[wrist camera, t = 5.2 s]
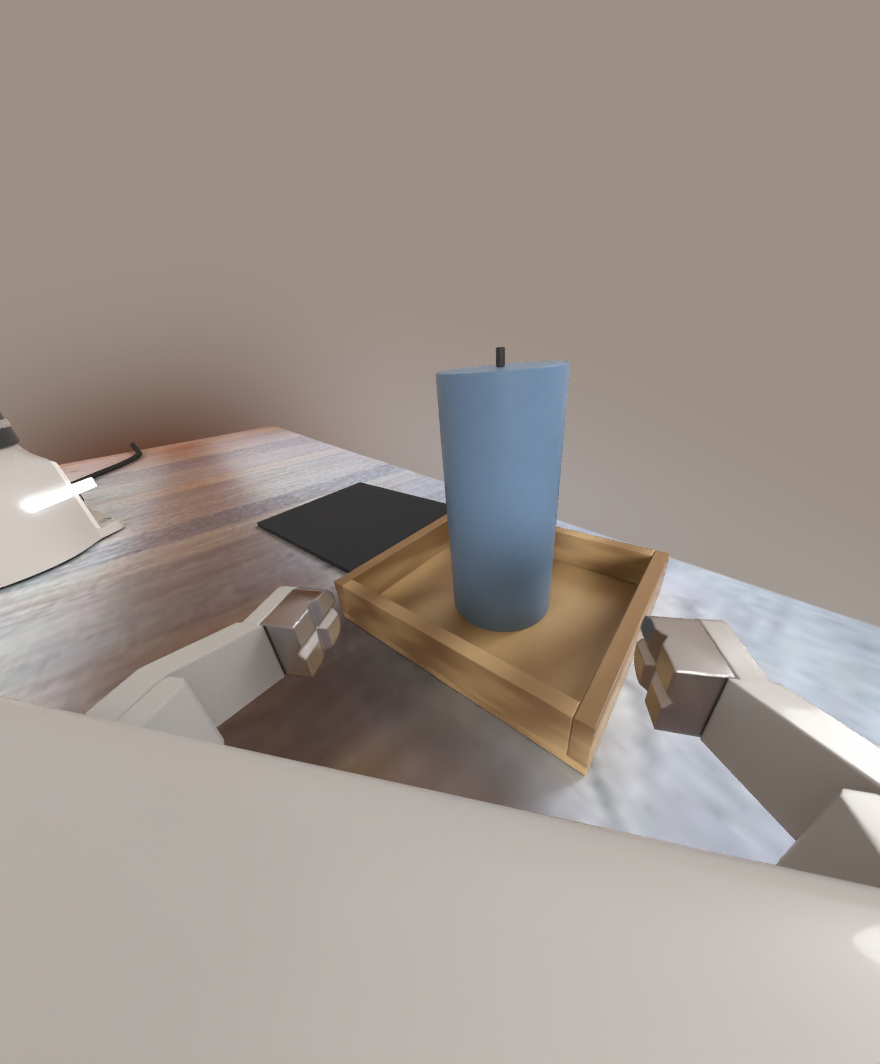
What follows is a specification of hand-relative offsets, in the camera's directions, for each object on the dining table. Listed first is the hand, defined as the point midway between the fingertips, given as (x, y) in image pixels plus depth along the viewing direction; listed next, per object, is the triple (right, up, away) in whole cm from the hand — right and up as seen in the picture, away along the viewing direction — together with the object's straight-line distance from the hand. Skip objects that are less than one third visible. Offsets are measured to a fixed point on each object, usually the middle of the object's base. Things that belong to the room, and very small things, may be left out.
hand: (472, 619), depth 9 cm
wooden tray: (+3, -2, +13) cm, 14 cm away
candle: (+3, -2, +13) cm, 13 cm away
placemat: (-9, +4, +27) cm, 28 cm away
